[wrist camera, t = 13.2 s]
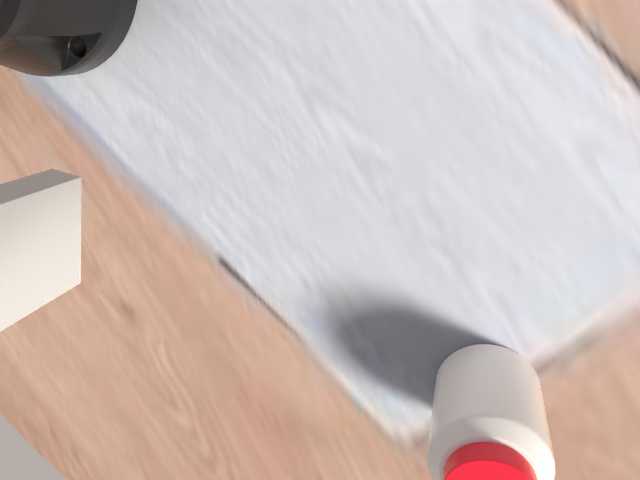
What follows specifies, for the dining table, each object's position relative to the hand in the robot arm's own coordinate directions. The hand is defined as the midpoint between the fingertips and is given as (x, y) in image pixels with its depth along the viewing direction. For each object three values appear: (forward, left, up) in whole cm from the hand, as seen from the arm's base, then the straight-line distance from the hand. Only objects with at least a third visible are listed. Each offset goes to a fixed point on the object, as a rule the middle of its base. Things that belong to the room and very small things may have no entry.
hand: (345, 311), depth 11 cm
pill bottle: (+9, -18, -27) cm, 34 cm away
